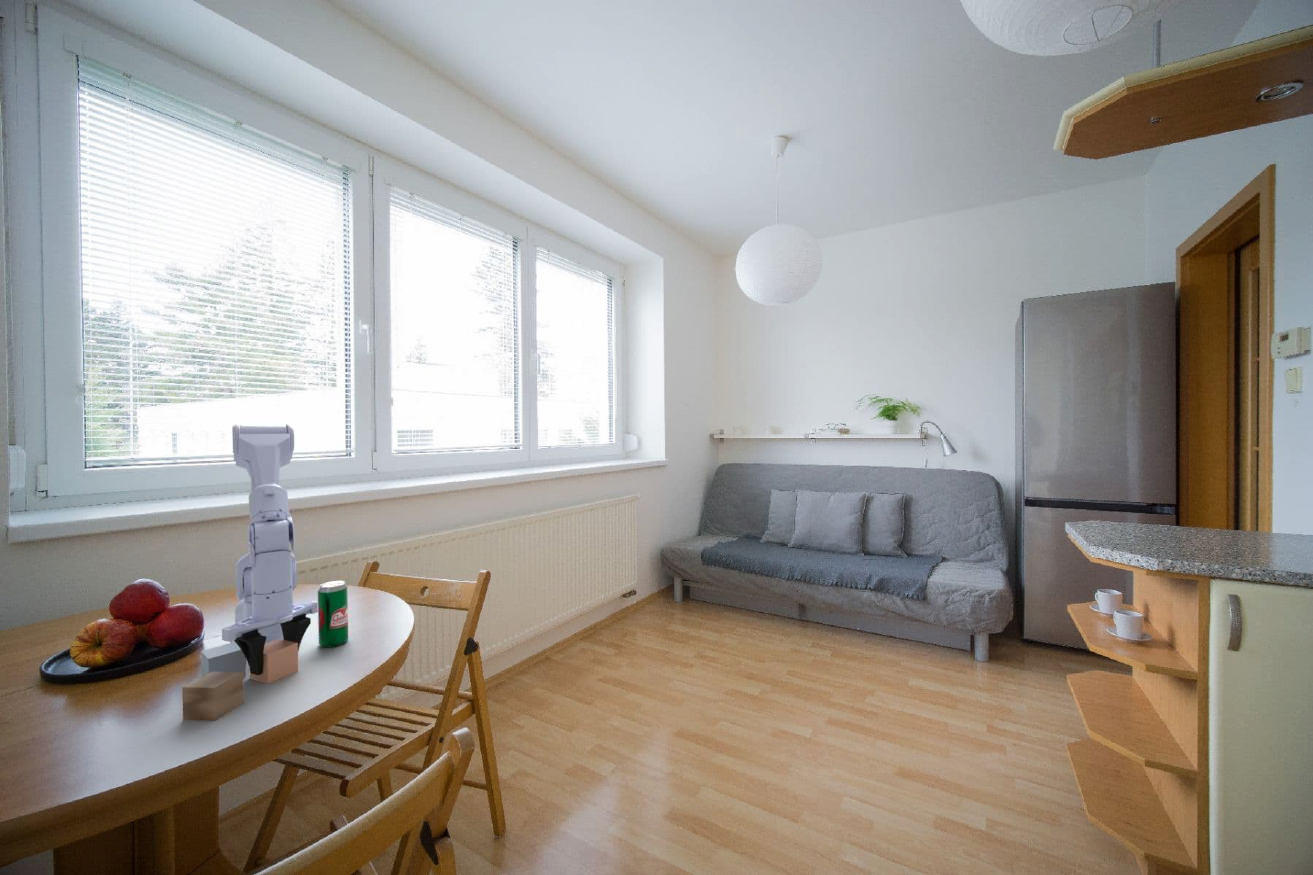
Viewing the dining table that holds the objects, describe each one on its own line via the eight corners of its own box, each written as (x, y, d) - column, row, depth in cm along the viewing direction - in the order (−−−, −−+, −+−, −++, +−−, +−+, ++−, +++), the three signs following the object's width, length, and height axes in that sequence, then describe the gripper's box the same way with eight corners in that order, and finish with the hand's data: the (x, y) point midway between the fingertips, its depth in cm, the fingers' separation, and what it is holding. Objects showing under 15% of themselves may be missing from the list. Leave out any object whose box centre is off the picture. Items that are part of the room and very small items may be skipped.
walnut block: (182, 720, 77) (182, 687, 77) (213, 702, 82) (212, 671, 82) (215, 721, 77) (214, 687, 76) (243, 703, 82) (243, 671, 81)
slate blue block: (201, 679, 89) (200, 650, 89) (237, 668, 93) (237, 641, 93) (209, 688, 86) (208, 658, 86) (246, 676, 90) (245, 648, 90)
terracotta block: (249, 678, 90) (249, 649, 89) (280, 666, 94) (279, 638, 94) (268, 683, 88) (267, 654, 87) (298, 670, 92) (297, 642, 92)
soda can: (334, 649, 101) (333, 588, 101) (312, 647, 102) (311, 586, 102) (354, 639, 106) (353, 580, 106) (333, 637, 107) (332, 579, 107)
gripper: (239, 605, 82) (241, 690, 83) (328, 580, 96) (329, 653, 96) (213, 600, 85) (215, 682, 85) (303, 576, 98) (304, 647, 99)
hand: (274, 666), depth 91 cm, fingers closed on terracotta block, 5 cm apart
